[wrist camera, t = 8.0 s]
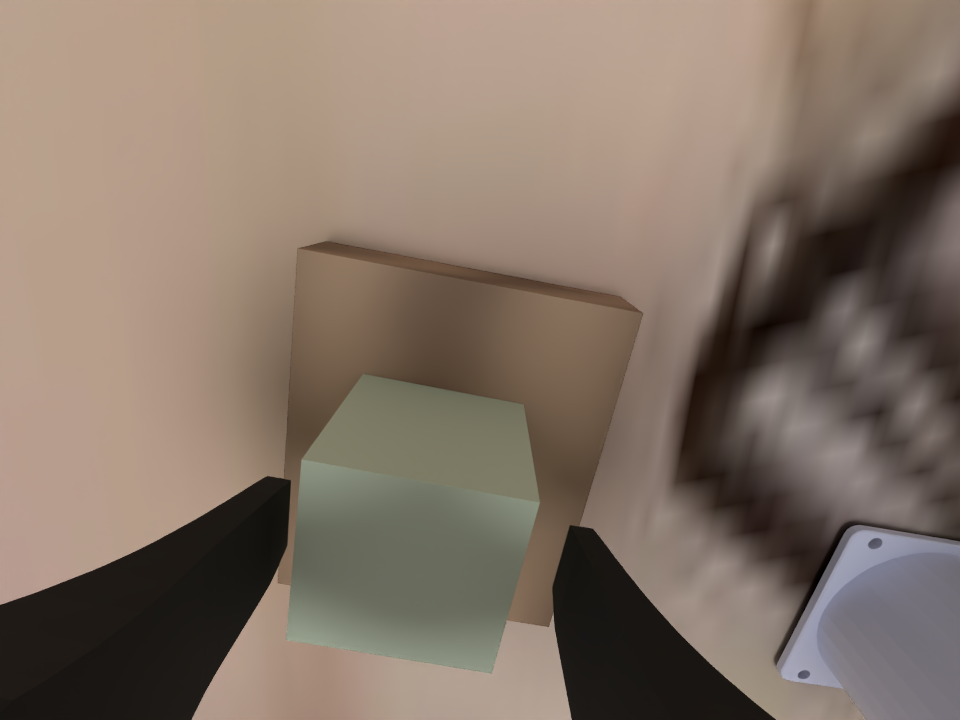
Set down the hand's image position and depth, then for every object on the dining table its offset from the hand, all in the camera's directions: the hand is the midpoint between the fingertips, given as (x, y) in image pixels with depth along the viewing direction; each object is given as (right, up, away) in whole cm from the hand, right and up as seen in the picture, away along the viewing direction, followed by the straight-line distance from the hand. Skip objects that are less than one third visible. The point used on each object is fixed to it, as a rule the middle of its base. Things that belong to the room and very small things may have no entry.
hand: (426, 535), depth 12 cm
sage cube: (0, +1, +3) cm, 4 cm away
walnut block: (0, +2, +6) cm, 6 cm away
